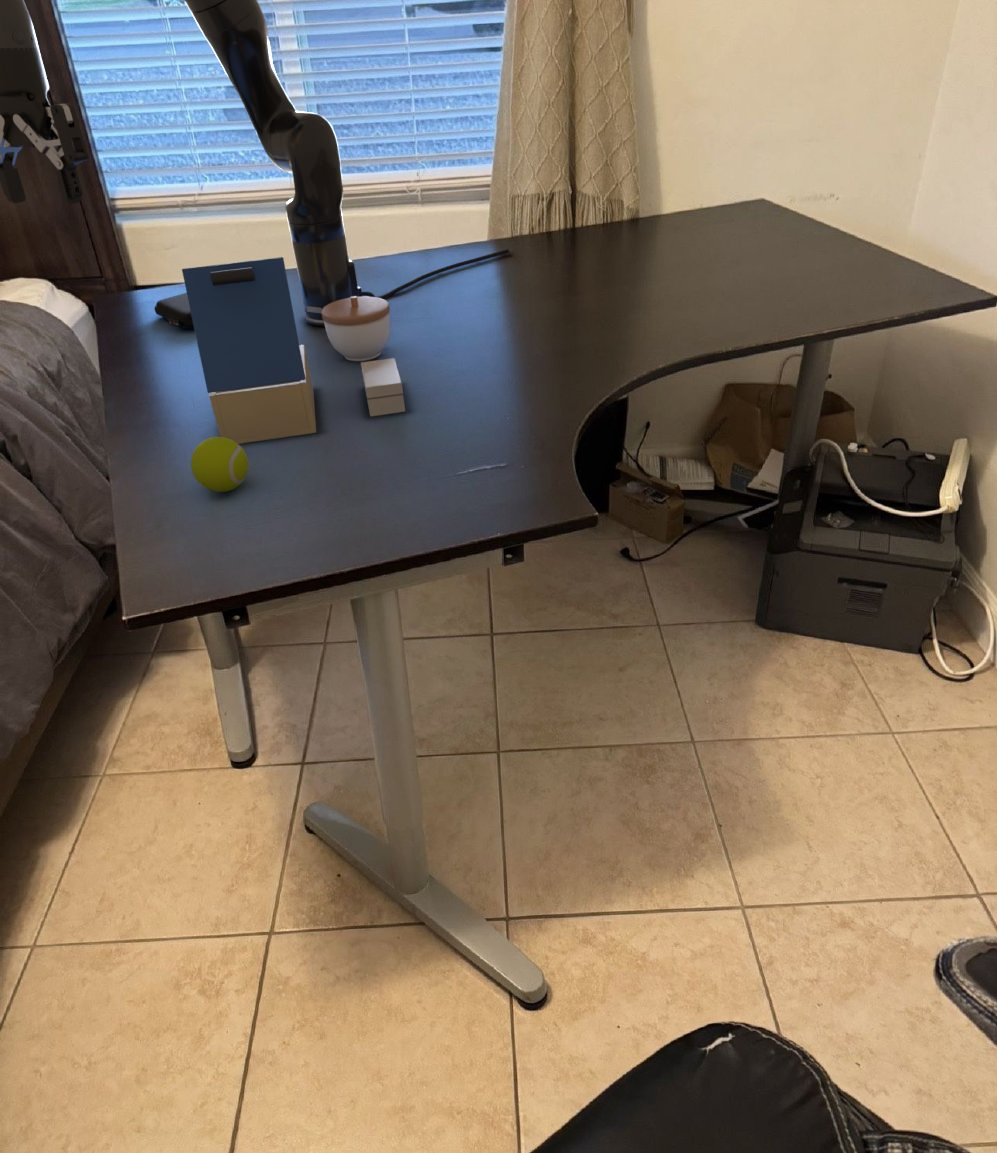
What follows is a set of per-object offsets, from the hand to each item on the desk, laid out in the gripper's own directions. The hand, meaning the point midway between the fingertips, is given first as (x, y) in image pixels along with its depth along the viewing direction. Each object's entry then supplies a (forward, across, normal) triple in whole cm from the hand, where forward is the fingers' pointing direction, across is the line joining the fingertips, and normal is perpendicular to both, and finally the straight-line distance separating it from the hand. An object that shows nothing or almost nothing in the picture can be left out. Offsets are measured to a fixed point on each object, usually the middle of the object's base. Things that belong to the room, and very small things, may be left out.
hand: (45, 202), depth 105 cm
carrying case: (+27, +19, -46) cm, 57 cm away
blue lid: (+15, -21, -7) cm, 27 cm away
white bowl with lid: (+28, -22, -36) cm, 50 cm away
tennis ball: (+32, -24, +8) cm, 40 cm away
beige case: (+29, -33, -20) cm, 48 cm away
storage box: (+30, -19, -11) cm, 37 cm away
